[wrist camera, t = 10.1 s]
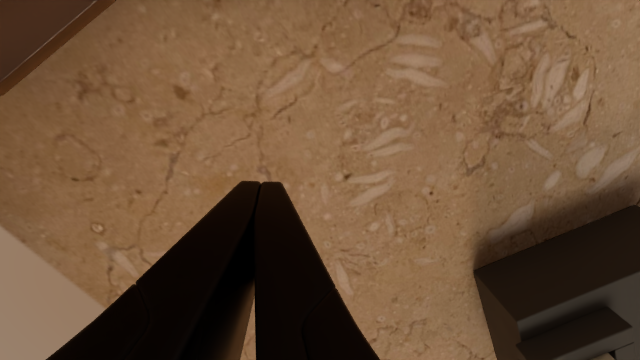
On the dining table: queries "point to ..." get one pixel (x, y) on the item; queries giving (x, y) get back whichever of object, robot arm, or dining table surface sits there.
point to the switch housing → (38, 32)
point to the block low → (568, 294)
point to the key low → (604, 357)
